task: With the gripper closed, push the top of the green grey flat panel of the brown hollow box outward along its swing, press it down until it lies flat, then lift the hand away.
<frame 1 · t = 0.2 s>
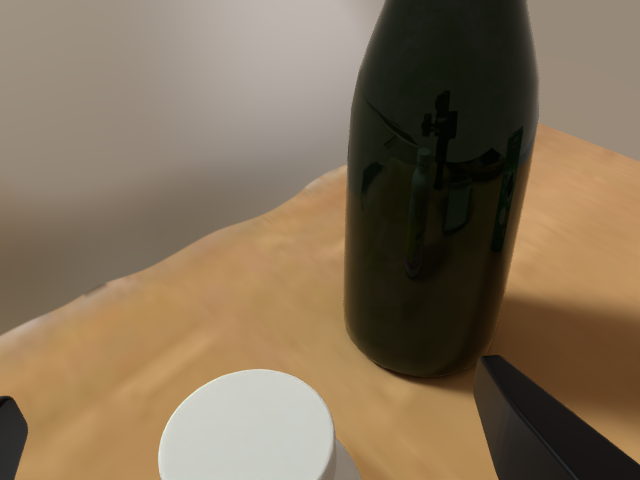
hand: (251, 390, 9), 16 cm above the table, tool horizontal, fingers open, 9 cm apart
green wine bottle: (416, 328, 35), on the table
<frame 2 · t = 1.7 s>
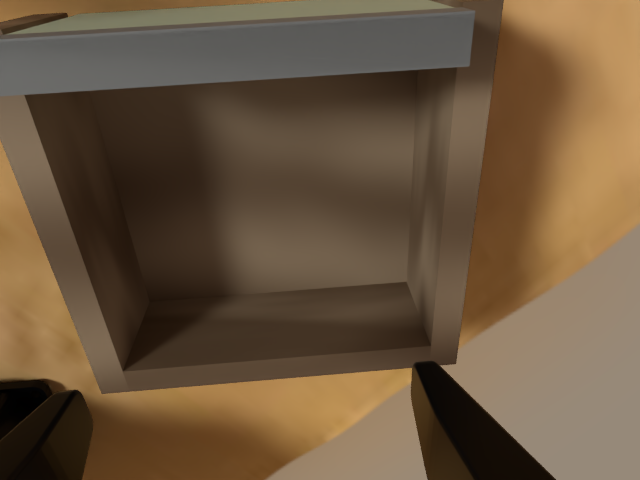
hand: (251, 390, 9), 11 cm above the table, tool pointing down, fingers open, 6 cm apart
green grey flat panel: (241, 34, 13), point 4 cm above the table, hinge at 0.0°
brown hollow box: (267, 174, 19), on the table
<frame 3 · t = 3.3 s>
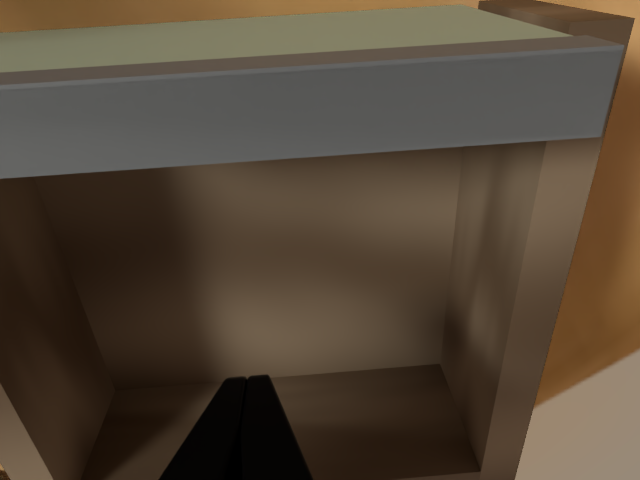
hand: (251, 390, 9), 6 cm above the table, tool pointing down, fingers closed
green grey flat panel: (220, 69, 8), point 4 cm above the table, hinge at 0.0°
brown hollow box: (264, 234, 15), on the table
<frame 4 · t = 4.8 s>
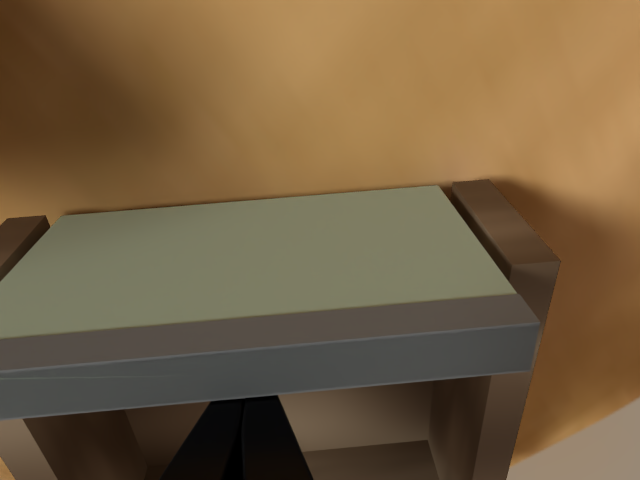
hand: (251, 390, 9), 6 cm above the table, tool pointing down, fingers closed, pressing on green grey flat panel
green grey flat panel: (246, 276, 11), point 4 cm above the table, hinge at 2.6°, touching gripper
brown hollow box: (275, 340, 17), on the table
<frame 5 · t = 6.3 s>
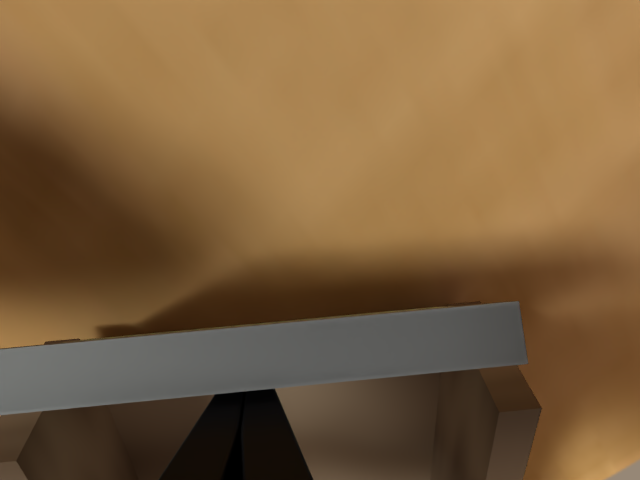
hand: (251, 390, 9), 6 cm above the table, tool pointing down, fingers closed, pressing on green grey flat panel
green grey flat panel: (255, 346, 11), point 4 cm above the table, hinge at 39.3°, touching gripper
brown hollow box: (285, 427, 18), on the table
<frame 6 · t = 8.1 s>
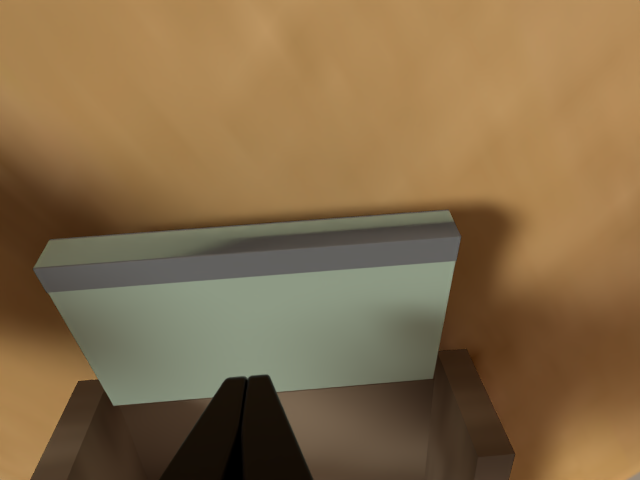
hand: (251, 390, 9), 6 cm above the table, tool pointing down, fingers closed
green grey flat panel: (264, 318, 14), point 2 cm above the table, hinge at 80.6°
brown hollow box: (289, 454, 20), on the table
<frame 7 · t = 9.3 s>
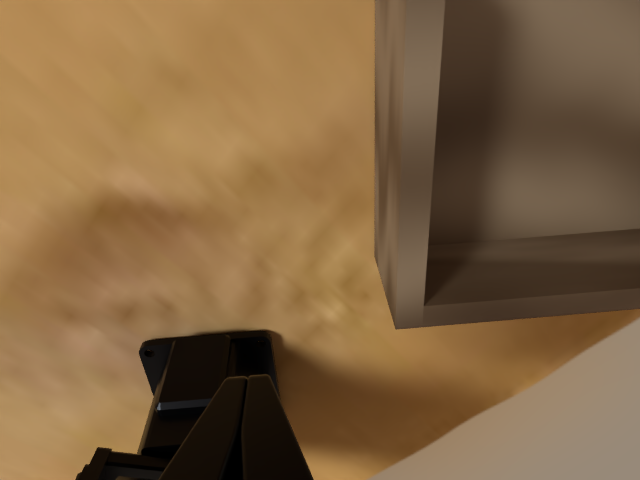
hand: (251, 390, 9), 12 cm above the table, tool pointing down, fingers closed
brown hollow box: (536, 118, 19), on the table
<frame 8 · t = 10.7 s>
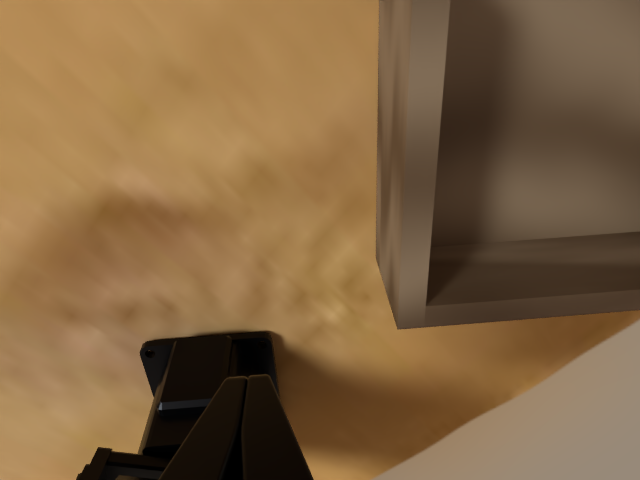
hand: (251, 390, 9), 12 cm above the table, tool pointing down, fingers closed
brown hollow box: (536, 121, 20), on the table
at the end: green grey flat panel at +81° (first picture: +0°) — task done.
